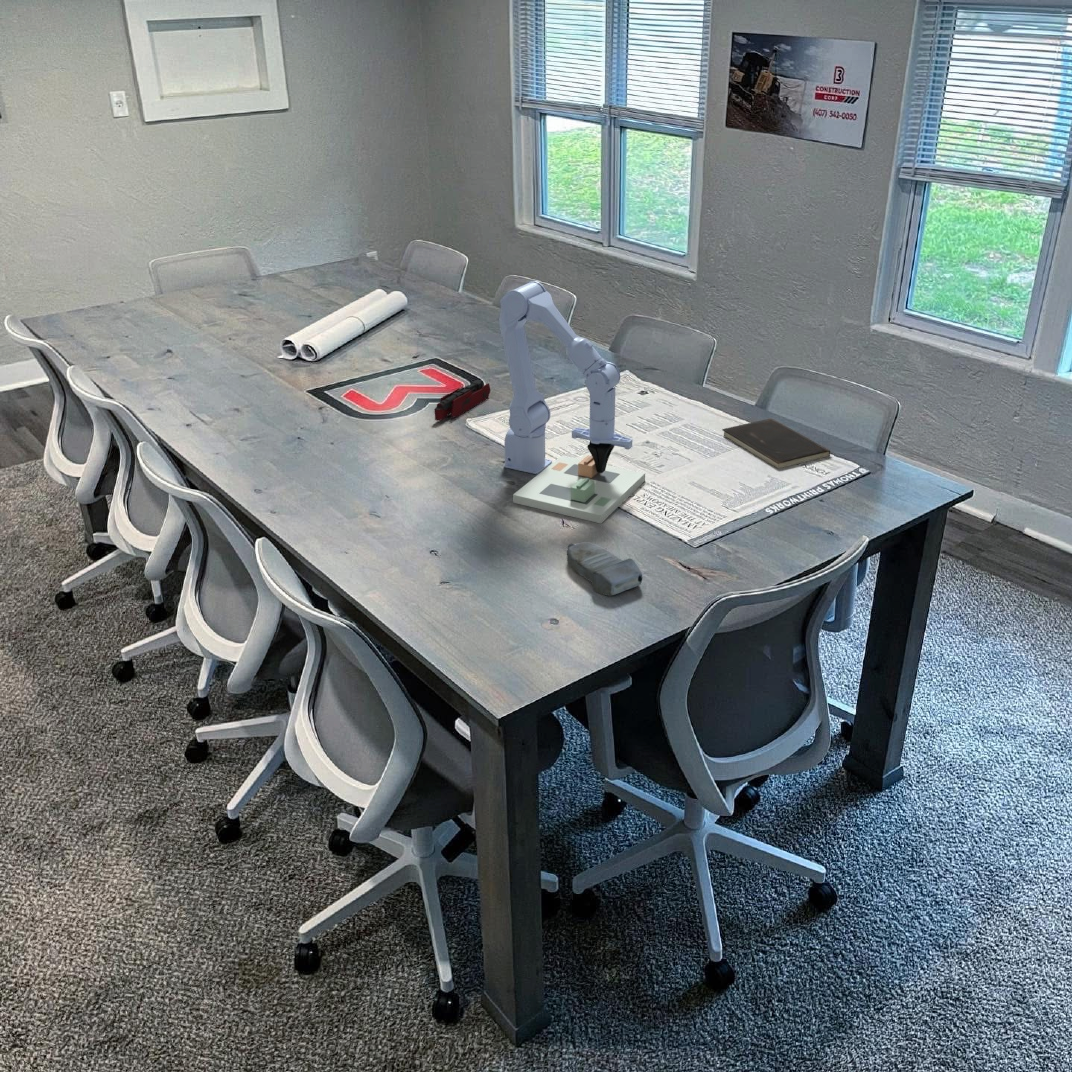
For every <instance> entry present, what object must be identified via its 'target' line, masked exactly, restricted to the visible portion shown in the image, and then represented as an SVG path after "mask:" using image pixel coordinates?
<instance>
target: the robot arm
mask: <svg viewBox="0 0 1072 1072" xmlns="http://www.w3.org/2000/svg"><path fill="white" fill-rule="evenodd" d="M499 304H500V309H501V310H500V313H499V319H498V325H499V329H500V335H501V339H502V343H503V344H502V345H503V350H504V354H505V358H506V363H507V368H508V373H509V378H510V382H511V387H512V392H513V397H512V400H511V402H510V404H509V406H508V408H509V418H508V425H509V429H508V430H507V431H506V433H505V437H504V464H503V467H504V468H506V469H511V470H515V471H520V472H525V473H529V474H534V475H538V474H539V473H541V472H542V471H543V470H544V469H546V468H547V467H548V466H549V465H551V464H552V463H553V460H551V459H546V428H547V426H546V425H547V423H548V422H549V421H550V419H551V410H550V408H549V406H548V404H547V402H546V400H545V396H544V394H543V393H542V392H540V391H538V389H537V385H536V380H535V375H534V370H533V365H532V359H531V355H530V350H529V345H528V340H527V335H526V331H525V330H526V329H525V324H526V323H527V321H530V322H540V323H542V324H543V325H544V326H545V327H546V328H547V329H548V331H550V332H551V333H552V334H553V335H554V336H555V337H556V338H557V340H558V341H560V343H561V344H562V345H564V346H565V349H566V352H565V353H566V354H565V355H566V357H567V358H568V360H570V361H571V362H572V364H573V365H574V367H575V368H576V369H577V370H578V371H579V372H580V374H581V375H582V376H583V377H584V378H585V380H584V383H585V385H584V386H585V388H586V389H587V391H588V393H589V428H581V427H574V428H573V429H572V430H571V439H582V440H585V441H589V444H588V445H587V450H588V452H589V453H590V456H591V455H592V457H593V459H594V462H595V466H596V470H597V472H598V473H603V472H604V471H605V469H606V465H608V460H609V458H610V456H611V453H612V452H613V450H614V448H615V447H620V448H624V450H627V451H629V450H630V449H632V448H633V440H634V439H633V438H629V437H626V436H624V435H621V434H618V432H617V433H616V432H615V430H616V427H615V423H616V420H615V419H616V386H617V385H618V384H619V382H620V380H621V372H620V370H619V368H618V367H617V365H616V363H613V362H610V361H607V360H606V359H605V358H603V357H602V356H601V355H600V353H599V352H598V351H597V350H596V349H595V347H594V344H593V342H592V341H590V340H588V339H587V338H586V337H580V336H578V335H577V334H576V332H575V331H574V330H573V329H572V327H571V326H570V324H569V323H568V322H567V320H566V319H565V318H564V316H563V315H562V314H561V313H560V311H559V310H558V308H557V307H556V305H555V304H554V301H553V298H552V294H551V293H550V292H549V291H547V289H546V288H545V286H544V285H543V284H542V283H540V282H539V281H536V280H531V281H528V282H527V283H526V284H523V285H521V286H519V287H517V288H516V287H515V289H511V290H509V291H507V292H506V293H505V294H504V295H503V296H502V298H501V299H500V300H499Z"/></svg>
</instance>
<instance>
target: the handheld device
mask: <svg viewBox="0 0 1072 1072" xmlns="http://www.w3.org/2000/svg"><path fill="white" fill-rule="evenodd" d="M566 549H567V550H566V559H567V560H566V561H567V563H568V566H569V567H570V568H571V569H572V570H573V571H574V573H577V574H578V575H580V576H581V577H583V578H584V579H586V580H588V581H590V582H591V583H592V584H591V585H592V591H594V592H595V593H597V592H598V594H600V595H604V596H615V595H617V594H620V593H623V592H625V591H627V590H628V591H629V590H630V589H633V588H636V587H638V586H640V585H642V582H643V578H644V577H643V572H642V570H641V569H640V567H639V565H638V563H637V562H636V561H635V560H634V559H633V558H630V557H629V558H626V559H622V558H620V557H618V556H617V555H616V554H614V553H612V552H611V551H610V550H607V549H606V548H604V547H602V546H600V545H598V544H595V543H592V542H589V541H582V542H579V543H570V544H568V546H567V548H566Z"/></svg>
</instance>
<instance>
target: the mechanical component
mask: <svg viewBox="0 0 1072 1072" xmlns="http://www.w3.org/2000/svg"><path fill="white" fill-rule="evenodd" d="M490 394H491V387H490V383H489V382H487V383H486V384H485V385H483V380H482V379H477V380H474V381H472V382H470V384H468V385H466V386H462V387H461V388H460V387H458V388H457V389H454V390H453V391H452V392H450V393H446V394H444V395H443V396H442V397H441V398H440V401H439V402H438V403H436V407H434V420H436V421H439V422H441V421H442V420H444V418H446V417H447V418H448V417H449V414H450V417H451V418H456V417H457V418H458V417H460V416H461V415H462V414H464V413H466V412H467V411H469V410H471V409H472V408H474V407H476V406H477V405H479V404H480V403H483V402H484V401H486V400H487V399H488V398H489V397H490Z"/></svg>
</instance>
